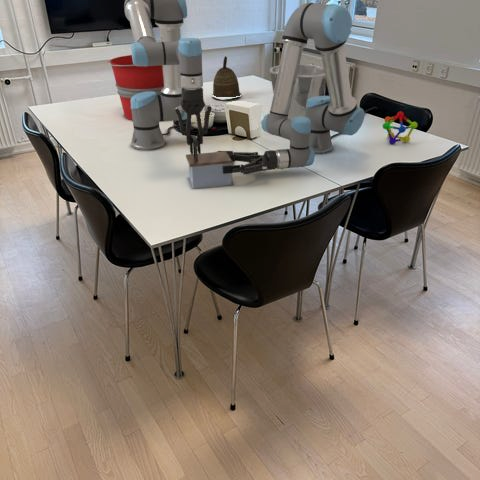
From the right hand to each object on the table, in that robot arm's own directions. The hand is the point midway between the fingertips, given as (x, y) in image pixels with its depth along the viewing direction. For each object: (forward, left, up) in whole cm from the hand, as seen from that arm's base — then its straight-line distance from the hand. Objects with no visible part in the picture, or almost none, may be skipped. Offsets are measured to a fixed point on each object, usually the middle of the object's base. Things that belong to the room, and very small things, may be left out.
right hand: (220, 164), depth 170 cm
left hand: (+8, -4, +6) cm, 11 cm away
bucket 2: (-73, -31, -7) cm, 80 cm away
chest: (+4, -2, -7) cm, 8 cm away
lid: (+4, -2, +2) cm, 5 cm away
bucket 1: (-21, -97, -7) cm, 99 cm away
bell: (-80, -99, -7) cm, 128 cm away
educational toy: (-91, +18, -7) cm, 93 cm away
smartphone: (-15, -17, -7) cm, 24 cm away
